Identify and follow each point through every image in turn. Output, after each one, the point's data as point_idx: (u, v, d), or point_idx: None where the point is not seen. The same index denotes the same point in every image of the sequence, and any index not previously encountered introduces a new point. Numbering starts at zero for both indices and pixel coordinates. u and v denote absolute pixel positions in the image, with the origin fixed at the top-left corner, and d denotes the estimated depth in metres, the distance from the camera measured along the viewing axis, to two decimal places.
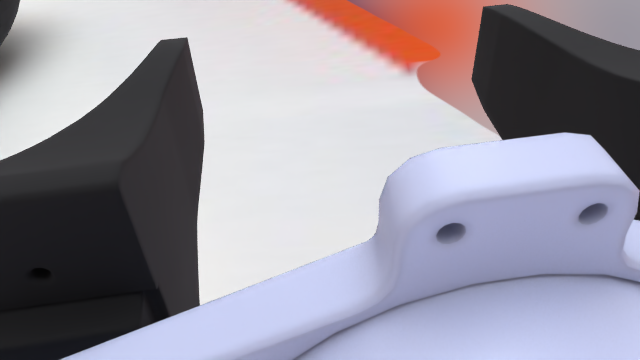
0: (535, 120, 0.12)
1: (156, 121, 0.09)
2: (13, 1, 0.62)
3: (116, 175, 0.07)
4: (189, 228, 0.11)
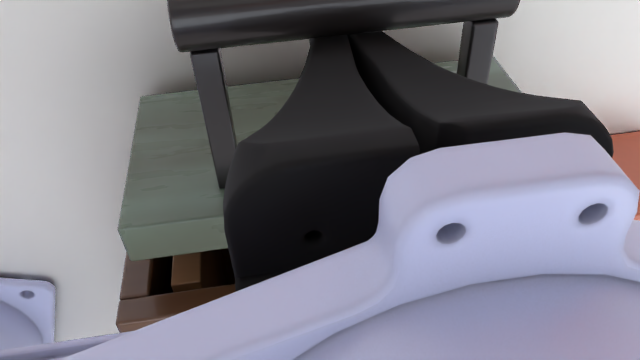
0: None
1: (369, 96, 0.09)
2: None
3: (409, 139, 0.07)
4: None
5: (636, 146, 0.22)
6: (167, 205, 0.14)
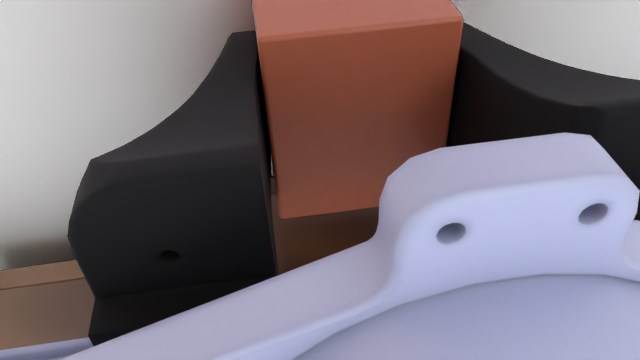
0: (458, 129, 0.12)
1: (256, 109, 0.09)
2: None
3: (254, 158, 0.07)
4: (271, 217, 0.11)
5: None
6: None
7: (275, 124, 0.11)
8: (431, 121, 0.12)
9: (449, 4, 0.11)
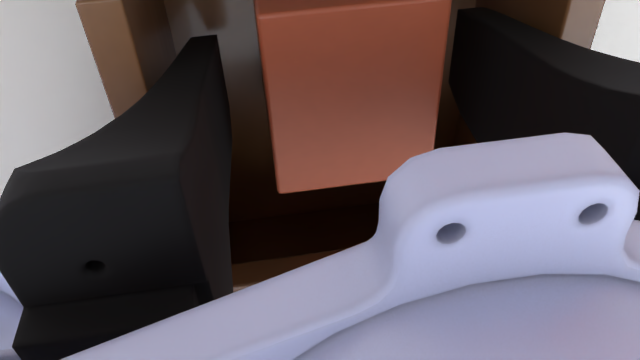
0: (506, 124, 0.12)
1: (199, 116, 0.09)
2: None
3: (175, 168, 0.07)
4: (224, 223, 0.11)
5: None
6: None
7: (273, 99, 0.12)
8: (422, 97, 0.12)
9: None
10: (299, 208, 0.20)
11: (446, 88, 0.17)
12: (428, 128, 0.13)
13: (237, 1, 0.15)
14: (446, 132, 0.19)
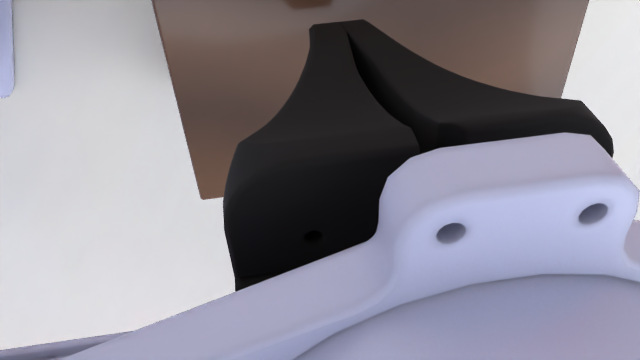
0: None
1: (369, 96, 0.09)
2: None
3: (409, 139, 0.07)
4: None
5: None
6: None
7: None
8: None
9: None
10: None
11: None
12: None
13: None
14: None
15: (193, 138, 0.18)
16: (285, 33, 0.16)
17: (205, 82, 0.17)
